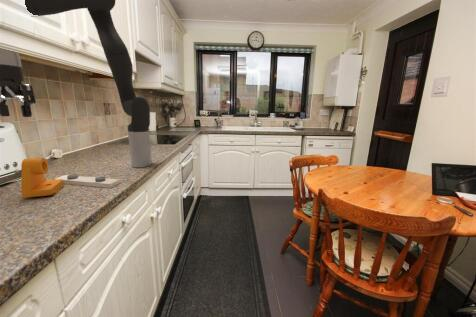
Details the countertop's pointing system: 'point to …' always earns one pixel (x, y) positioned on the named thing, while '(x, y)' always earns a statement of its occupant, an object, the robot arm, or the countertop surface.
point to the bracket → (37, 179)
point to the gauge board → (89, 181)
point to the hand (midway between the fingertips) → (16, 116)
